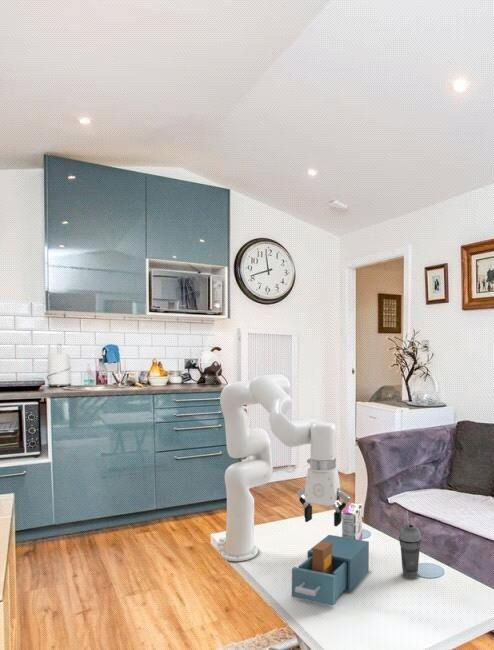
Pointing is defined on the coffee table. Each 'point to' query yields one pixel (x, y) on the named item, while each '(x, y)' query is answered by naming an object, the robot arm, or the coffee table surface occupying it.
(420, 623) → the coffee table surface
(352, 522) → the candy bar box
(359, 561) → the cabinet
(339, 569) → the drawer
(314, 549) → the brown rectangular box
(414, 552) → the beverage cup
